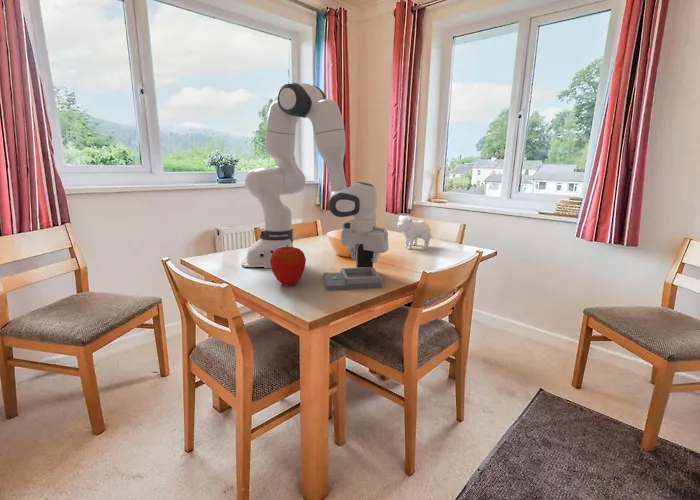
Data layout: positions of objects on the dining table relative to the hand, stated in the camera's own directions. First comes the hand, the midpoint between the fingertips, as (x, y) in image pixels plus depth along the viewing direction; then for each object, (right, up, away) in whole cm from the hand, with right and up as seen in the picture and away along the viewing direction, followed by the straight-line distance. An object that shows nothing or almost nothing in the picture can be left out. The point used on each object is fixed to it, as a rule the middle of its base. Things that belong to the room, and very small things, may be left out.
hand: (363, 260), depth 142 cm
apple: (-27, -8, -15) cm, 32 cm away
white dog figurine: (+27, +5, +40) cm, 49 cm away
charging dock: (-5, -7, -12) cm, 15 cm away
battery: (0, -4, +1) cm, 5 cm away
